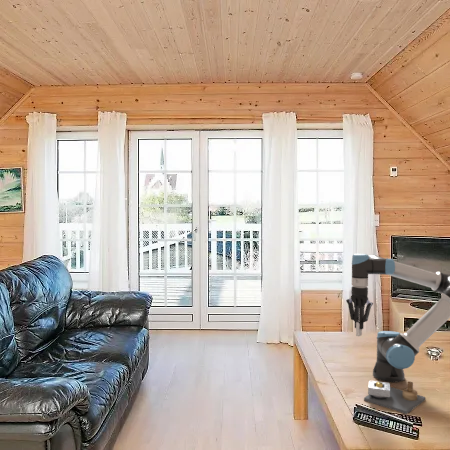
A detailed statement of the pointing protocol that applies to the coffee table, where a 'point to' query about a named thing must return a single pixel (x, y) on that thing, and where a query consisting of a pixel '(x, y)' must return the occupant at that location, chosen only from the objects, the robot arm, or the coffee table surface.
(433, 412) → the coffee table surface
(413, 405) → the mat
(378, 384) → the cylinder
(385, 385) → the square hole frame
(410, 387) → the stand
